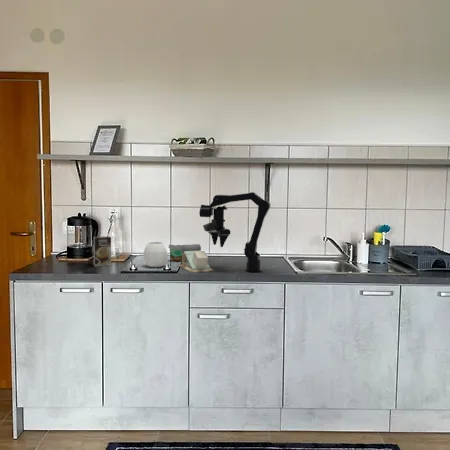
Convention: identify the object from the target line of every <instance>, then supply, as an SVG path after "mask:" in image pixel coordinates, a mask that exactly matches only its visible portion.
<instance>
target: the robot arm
mask: <svg viewBox="0 0 450 450" xmlns="http://www.w3.org/2000/svg"><path fill="white" fill-rule="evenodd" d="M249 200H250V201H252V202H253V203H254V204H255V205H256V206H257V207H258V208H257V217H256V220H255V224H254V227H253V230H252V233H251V237H250V239H249V241H247V242H245V247H244V249H243V252H244V253H243V254H244V256H245V257H246V258H247V261H246V269H245V271H246V272H250V273H257V272H258V273H260V272H262V270H261V268H260V267H261V259H260V257H261V254H259V253H258V251H257V249H258V239H259V237H260V233H261V230H262V228H263V225H264V224H263V223H264V221H265V218H266V216H267V214H268V212H269V210H270V208H271V206H272V205H271V202H270V201H269V200H267V199H264V198H262V197H261V196H259V195H258V194H257V193H256V192H254V191H251V192H248V193H239V194H216V195H214V196H213V198H212V202H211V203H210V204H209V205H208V204H207V205H206V204H200V208H199V217H200V218H212V217H213V219H211V222H208V223H206V224H203V225H202V226H203V230H204V232H208V233H207V234H209V235H210V236H211V240H212V244H213V245H215V246H216V245H217V241H218V238H219V247H220V248H223V247H224V245H225V242H226V241H227V240H228V237H229V236H230V235H231V230H230V228H226V227H225V225H224V224H225V222H226V220H225V219H224V218H225V211H227V210H228V209H229V208H228V207H227V206H226V204H228V203H233V202H234V203H235V202H241V201H249Z"/></svg>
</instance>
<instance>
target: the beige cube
mask: <svg viewBox="0 0 450 450" xmlns="http://www.w3.org/2000/svg"><path fill="white" fill-rule="evenodd" d="M208 259H209V256H208V254H207V252H206V251H205V250H201V251H194V255H193V259H192V261H193V263H194V265H195V267H204V266H206V264H207V263H208Z"/></svg>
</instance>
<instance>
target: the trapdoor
mask: <svg viewBox="0 0 450 450" xmlns="http://www.w3.org/2000/svg"><path fill="white" fill-rule="evenodd" d="M181 245H182V246H181V251H182V254H186V261H188V264H190V266H191V268H192V270H199V269H210V268H211V267H210V265H209V263H208V262H207V264H206V266H204V267H195V265H194V263H193V261H192V259H193V255H194V251H202V246H201V244H200V243H196V244H195V243H194V244H193V243H192V244H181Z"/></svg>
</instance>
